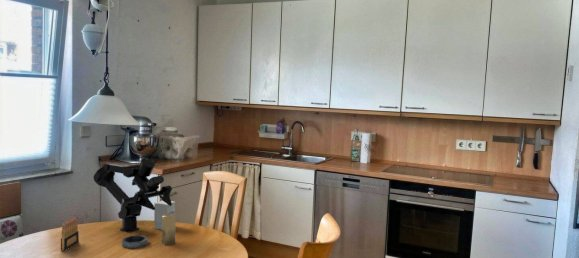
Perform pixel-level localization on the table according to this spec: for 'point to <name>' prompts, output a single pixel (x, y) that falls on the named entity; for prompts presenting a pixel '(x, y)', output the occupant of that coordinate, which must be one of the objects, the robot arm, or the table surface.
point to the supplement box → (162, 212)
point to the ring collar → (134, 242)
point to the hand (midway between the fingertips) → (163, 207)
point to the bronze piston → (168, 229)
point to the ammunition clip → (69, 233)
